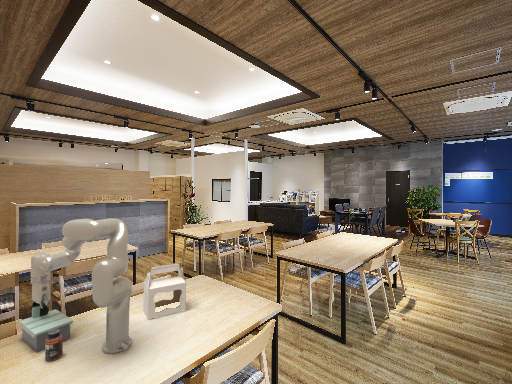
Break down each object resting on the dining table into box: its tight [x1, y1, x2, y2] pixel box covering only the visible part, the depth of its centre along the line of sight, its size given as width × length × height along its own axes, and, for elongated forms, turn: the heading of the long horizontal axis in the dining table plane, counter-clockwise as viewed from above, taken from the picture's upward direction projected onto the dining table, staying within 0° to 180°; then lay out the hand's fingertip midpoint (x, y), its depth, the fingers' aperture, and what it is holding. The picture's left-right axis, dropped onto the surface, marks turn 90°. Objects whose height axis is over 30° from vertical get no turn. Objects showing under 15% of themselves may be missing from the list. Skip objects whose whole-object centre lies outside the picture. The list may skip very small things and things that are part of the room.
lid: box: [18, 306, 74, 338], centre depth 125 cm, size 20×15×7 cm
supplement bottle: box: [44, 329, 64, 362], centre depth 112 cm, size 6×6×11 cm
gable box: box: [142, 262, 187, 321], centre depth 156 cm, size 22×13×28 cm, turn 124°
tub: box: [21, 324, 71, 354], centre depth 125 cm, size 18×13×8 cm
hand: (40, 312), depth 129 cm, fingers open, 9 cm apart
